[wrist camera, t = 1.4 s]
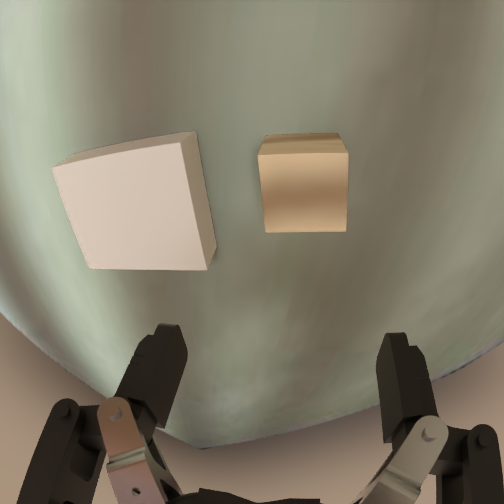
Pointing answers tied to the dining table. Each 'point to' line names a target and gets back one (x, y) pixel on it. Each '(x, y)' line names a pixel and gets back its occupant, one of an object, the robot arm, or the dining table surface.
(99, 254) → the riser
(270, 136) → the maple cube
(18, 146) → the dining table surface
